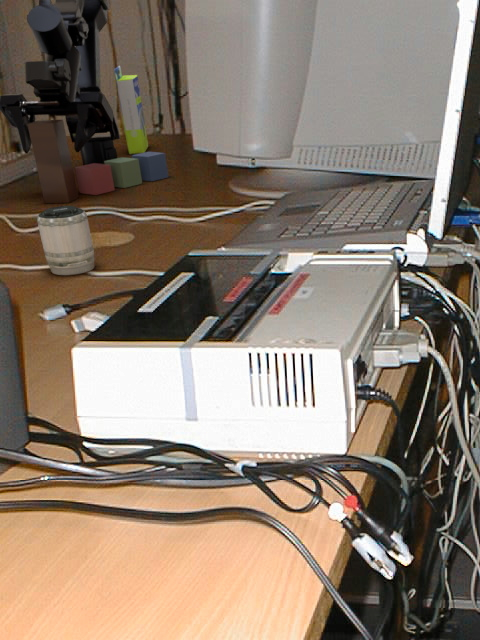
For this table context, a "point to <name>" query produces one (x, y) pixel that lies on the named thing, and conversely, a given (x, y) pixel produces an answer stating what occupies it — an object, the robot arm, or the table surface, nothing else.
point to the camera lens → (66, 240)
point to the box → (131, 112)
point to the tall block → (53, 161)
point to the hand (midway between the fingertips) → (50, 151)
